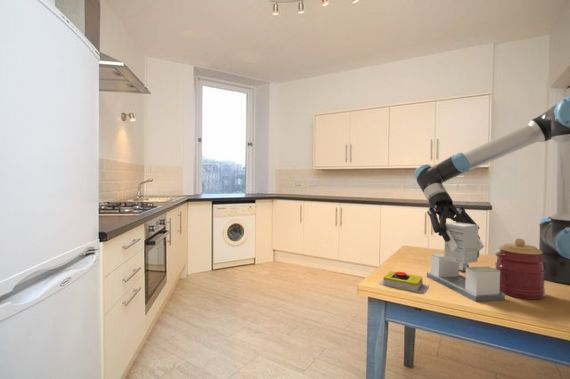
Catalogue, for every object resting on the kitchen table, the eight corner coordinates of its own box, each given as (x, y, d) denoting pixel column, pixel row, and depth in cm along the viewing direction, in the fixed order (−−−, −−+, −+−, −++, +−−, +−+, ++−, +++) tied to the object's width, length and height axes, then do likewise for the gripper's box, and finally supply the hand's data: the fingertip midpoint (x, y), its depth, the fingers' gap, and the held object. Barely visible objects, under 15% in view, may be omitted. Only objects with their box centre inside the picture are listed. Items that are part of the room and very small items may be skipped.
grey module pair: (430, 273, 114) (431, 254, 114) (450, 272, 115) (450, 253, 115) (476, 295, 92) (476, 271, 92) (499, 294, 93) (500, 270, 93)
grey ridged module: (457, 257, 108) (458, 221, 108) (478, 262, 102) (479, 224, 101) (443, 258, 105) (444, 222, 105) (463, 264, 99) (464, 225, 98)
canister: (496, 283, 108) (497, 233, 107) (544, 291, 100) (545, 238, 99) (492, 293, 98) (493, 239, 97) (545, 303, 90) (547, 244, 89)
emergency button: (386, 267, 113) (430, 274, 105) (386, 278, 114) (429, 286, 105) (378, 273, 106) (424, 281, 97) (378, 285, 106) (424, 295, 97)
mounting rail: (426, 276, 115) (426, 271, 115) (450, 275, 116) (450, 270, 116) (475, 301, 91) (475, 295, 91) (504, 299, 92) (505, 293, 92)
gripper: (458, 204, 120) (490, 254, 104) (407, 204, 117) (433, 255, 101) (468, 191, 114) (503, 241, 99) (416, 190, 111) (444, 243, 96)
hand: (468, 248), depth 100 cm, fingers closed on grey ridged module, 9 cm apart
